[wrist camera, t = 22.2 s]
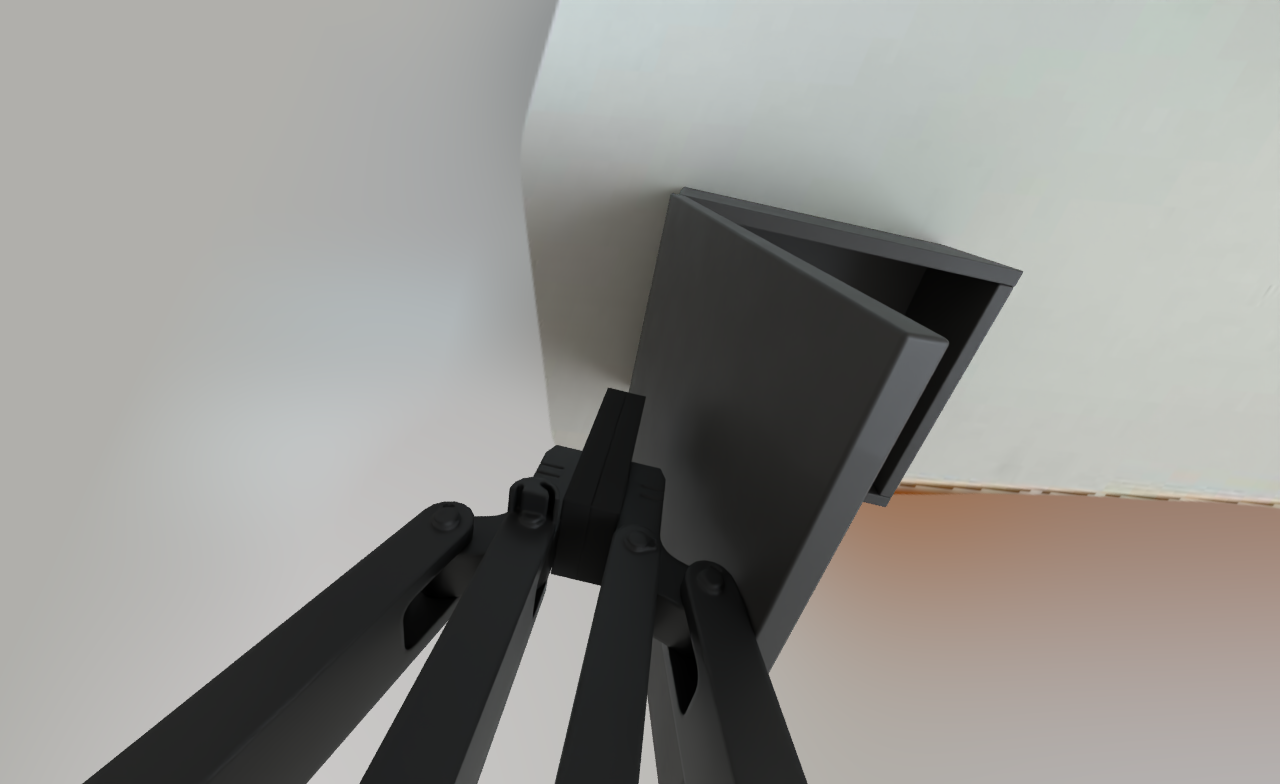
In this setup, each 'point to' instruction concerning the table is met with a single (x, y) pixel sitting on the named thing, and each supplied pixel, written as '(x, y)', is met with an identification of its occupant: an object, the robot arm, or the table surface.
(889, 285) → the box
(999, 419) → the table surface
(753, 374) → the lid
